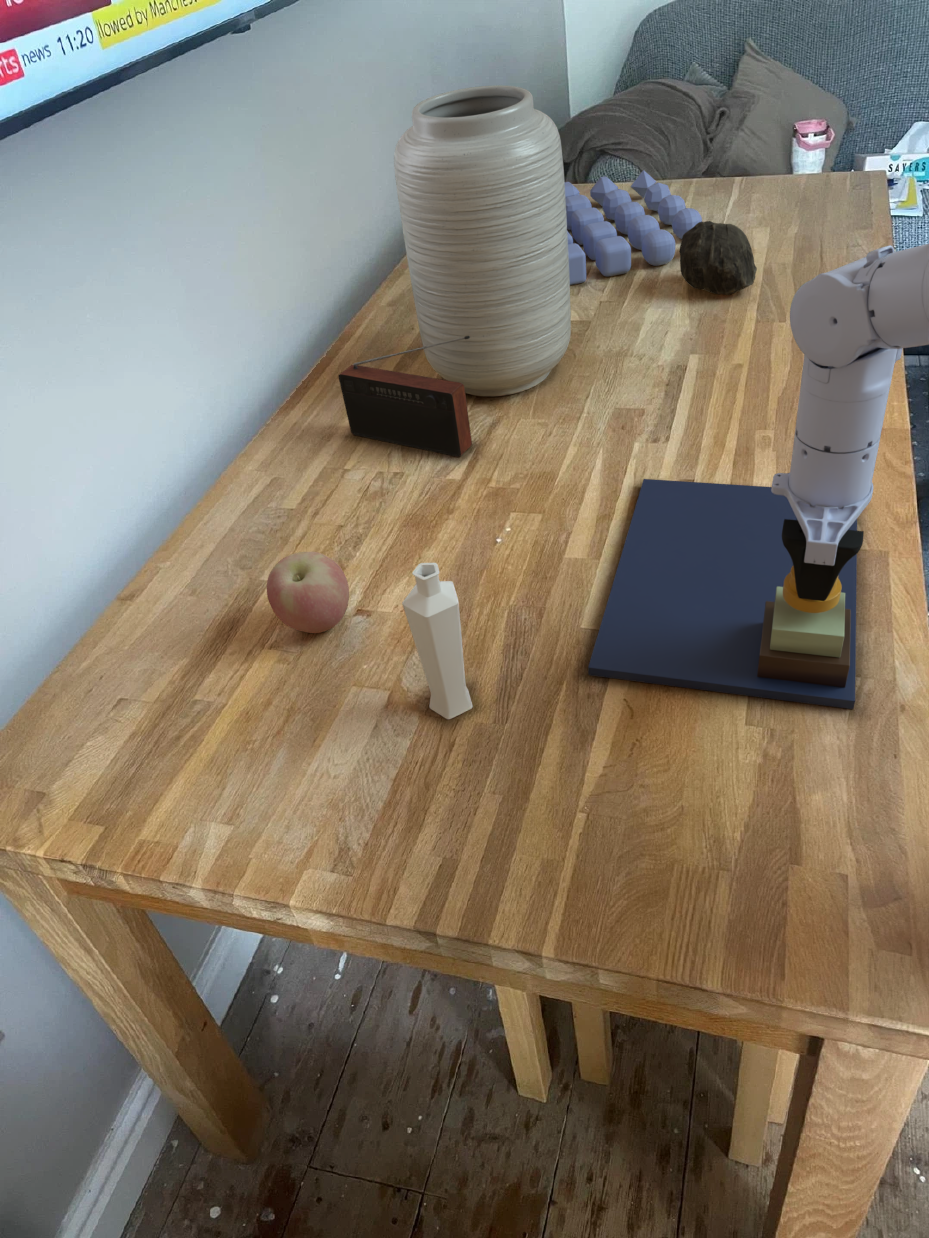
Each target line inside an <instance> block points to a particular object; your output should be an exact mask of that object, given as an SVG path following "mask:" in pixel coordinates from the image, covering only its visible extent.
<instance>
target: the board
mask: <svg viewBox="0 0 929 1238" xmlns="http://www.w3.org/2000/svg"><path fill="white" fill-rule="evenodd" d="M771 488H772V486H764V485H763V486H762V485H749V484H748V485H745V484H731V483H717V482H716V483H714V482H698V481H684V480H683V481H682V480H670V479H669V480H667V479H655V478H654V479H651V478H643V480H642V483H641V486H640V490H639V492H638V497H637V500H636V503H635V507H634V510H633V513H632V517H631V521H630V524H629V527H628V531H627V534H626V536H625V541H624V543H623V548H622V551H621V554H620V558H619V562H618V565H617V568H616V572H615V575H614V578H613V582H612V585H611V588H610V592H609V596H608V598H607V602H606V604H605V605H606V606H605V609H604V612H603V615H602V620H601V622H600V625H599V630H598V633H597V636H596V639H595V643H594V646H593V650H592V653H591V656H590V660H589V663H588V667H587V671H588V673H587V674H588V676H590V677H591V676H593V677H599V678H608V679H616V680H624V681H631V682H638V683H646V684H653V685H654V684H655V685H662V686H671V687H677V688H684V689H693V690H702V691H708V692H717V693H725V694H732V695H740V696H746V697H747V696H748V697H755V698H764V699H771V700H779V701H786V702H787V701H788V702H793V703H794V702H795V703H801V704H803V703H804V704H809V705H818V706H825V707H833V708H840V709H848V710H854V709H855V704H856V673H857V672H856V671H857V669H856V665H857V664H856V663H857V662H856V661H857V660H856V659H857V579H858V578H857V574H858V569H857V568H858V566H857V565H858V564H857V563H858V562H857V561H858V553H857V554H856V555H855V556H853V557H852V558H851V559H850V560H849V561H848V562H847V563H846V564H845V565H844V567H843V568H842V570H841V571H840V573H839V575H838V579H839V580H840V582H841V585H842V588H841V592H842V593H845V609H850V610H851V626H850V667H849V672H848V677H847V682H846V687H845V688H844V687H836V686H828V685H820V684H811V683H803V682H795V681H787V680H779V679H771V678H762V677H757V672H758V664H759V655H760V646H761V637H762V629H763V620H764V611H765V603H766V601H771V602H775V596H776V588H777V586H778V587H783V585H784V579H785V577H786V576H787V575H788V574H789V573H790V572H791V568H792V566H793V562H792V559H791V557H790V555H789V553H788V551H787V549H786V548H785V547H784V545H783V541H782V529H783V523H784V519H790V520H797V518H796V516H795V513H794V511H793V509H792V507H791V505H790V503H789V501H788V499H787V497H785V496H783V495H776V494H774V493H772V491H771ZM848 530H856V531H858V518H857V519H856V520H855V521H854V523H853V524H852V525H851V526H850V528H849V529H848Z"/></svg>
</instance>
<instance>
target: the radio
mask: <svg viewBox="0 0 929 1238" xmlns="http://www.w3.org/2000/svg"><path fill="white" fill-rule="evenodd" d="M469 338H470V336H465V337H464V338H460V339H456V340H452V341H447V342H443V343H439V344H435V345H431V346H425V347H423V346H421V347H418V348H413V349H409V350H405V351H401V352H397V353H392V354H386V355H381V356H378V357H375V358H371V359H367V360H362V361H358V362H354V363H353V364H350V365H349V366H348V367H347V368H346V369H344V370H343V371H342V372H341V373H339V374H338V376H337V377H338V382H339V385H340V390H341V395H342V398H343V403H344V407H345V408H344V409H345V412H346V417H347V420H348V424H349V430H350V432H351V434H352V435H353V436H356V437H361V438H366V439H370V440H375V441H380V442H385V443H389V444H395V445H400V446H403V447H409V448H413V449H418V450H423V451H428V452H433V453H437V454H443V455H448V456H452V457H455V458H456V457H457V458H461V457H462V455H464V454H465V453H466V451H467V450H469V449H470V448H471V446H472V445H473V440H472V433H471V426H470V417H469V410H468V404H467V403H468V402H467V396H466V393H465V388H464V385H463V384H462V383H460V382H454V381H448V380H446V379H443V378H442V379H441V378H436V377H431V376H430V377H429V376H424V375H417V374H411V373H407V372H406V373H405V372H400V371H394V370H388V369H383V368H376V367H369V366H365V365H363V364H368V363H372V362H375V361H381V360H385V359H389V358H392V357H395V356H396V357H397V356H400V355H404V354H408V353H409V354H410V353H412V352H418V351H421V350H424V349H426V348H428V347H433V346H437V345H441V344H445V343H449V342H454V341H458V340H462V339H469Z"/></svg>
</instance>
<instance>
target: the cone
mask: <svg viewBox="0 0 929 1238" xmlns="http://www.w3.org/2000/svg"><path fill="white" fill-rule="evenodd" d="M841 588H842V585H841V582H840V580H839V579H838V577H837V579H836V581H835V583H834V586H833V588H832V590H831V592H830V594H829V595H828V597H827V599H826V600H825V601H819V600H810V599H802V598H799V597H798V594H797V590H796V583H795V574H794V566H792V568H791V572H790V573H789V574H788V575H787V576H786V577H785V579H784V585H783V598H784V600H785V601H786V602H787V603H788V604H789V605H790V606H791V607H793V608H795V609H797V610H800V611H803V612H808V613H821V612H825V611H828V610H831V609H832V608H834V607H835V606H836V605H837V604H838V602H839V599H840V594H841Z"/></svg>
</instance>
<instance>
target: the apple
mask: <svg viewBox="0 0 929 1238" xmlns="http://www.w3.org/2000/svg"><path fill="white" fill-rule="evenodd" d="M266 596H267V600H268V603H269V605H270V608H271V610H272V611H273V613H274V614H275V616H276V618H278V619H279V620H280V621H281V622H282V623H283V624H285V625H286V626H288V627H289V628H290V629H294V630H296V631H300V632H305V633H308V634H309V633H310V634H320V633H323V632H326V631H329V630H331V629H333V628H334V627H336V626H337V625H338V624H339V623H340V622H341V621H342V619H343V617H344V616H345V613H346V611H347V608H348V605H349V600H350V586H349V581H348V579H347V576H346V574H345V572H344V570H343V569H342V567H341V566H340V565H339V564H338V563H337V562H336V561H335V560H334V559H332V558H331V557H329V556H328V555H325V554H324V553H321V552H319V551H298V552H294V553H292V554H289V555H287V556H285V557H283V558H282V559H280V560H279V561H277V563H276V564H275V565H274V566H273V567H272V568H271V570H270V572H269V574H268V577H267V580H266Z"/></svg>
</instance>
